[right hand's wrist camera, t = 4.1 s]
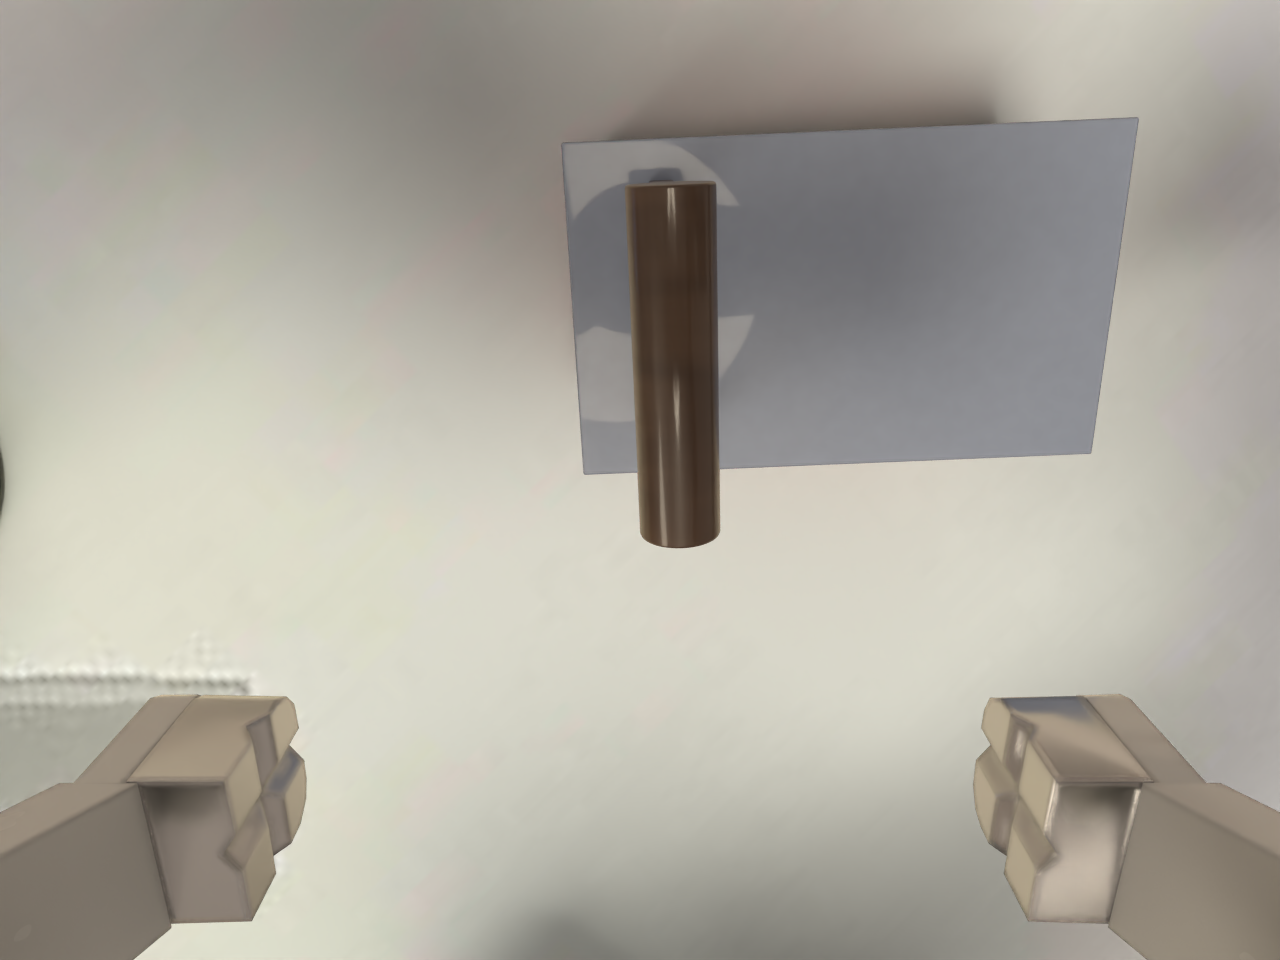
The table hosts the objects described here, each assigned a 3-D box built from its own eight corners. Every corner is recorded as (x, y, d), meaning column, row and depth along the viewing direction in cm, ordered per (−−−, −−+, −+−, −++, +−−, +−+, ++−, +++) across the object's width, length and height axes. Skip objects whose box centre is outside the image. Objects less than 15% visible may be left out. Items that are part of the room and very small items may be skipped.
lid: (585, 462, 29) (565, 591, 21) (564, 143, 26) (530, 139, 17) (1073, 442, 29) (1255, 562, 21) (1117, 118, 26) (1356, 103, 17)
